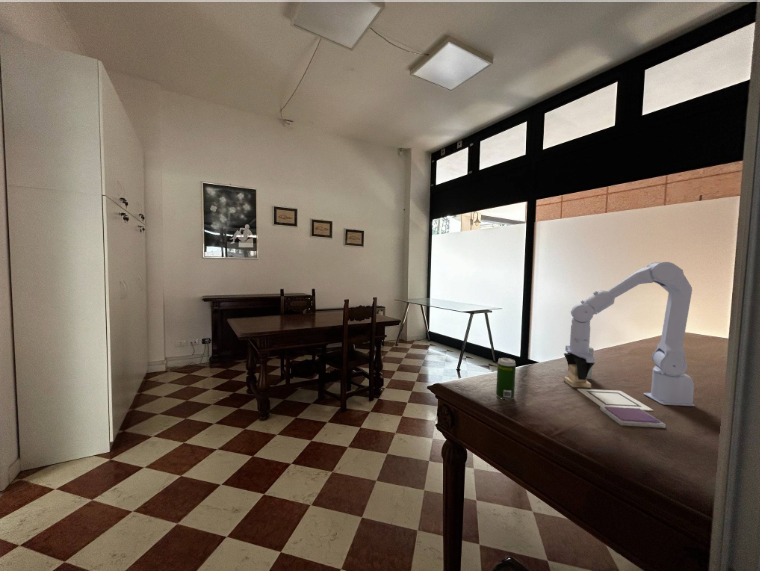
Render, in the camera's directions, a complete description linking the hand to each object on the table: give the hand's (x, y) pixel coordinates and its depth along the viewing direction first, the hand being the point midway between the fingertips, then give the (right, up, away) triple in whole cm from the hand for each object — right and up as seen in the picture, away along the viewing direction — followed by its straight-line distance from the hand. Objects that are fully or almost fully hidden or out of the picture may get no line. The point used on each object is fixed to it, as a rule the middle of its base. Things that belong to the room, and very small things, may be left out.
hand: (577, 376), depth 110 cm
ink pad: (0, -5, -23) cm, 24 cm away
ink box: (+8, -3, +11) cm, 14 cm away
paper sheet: (+4, -4, -11) cm, 12 cm away
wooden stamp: (0, -3, 0) cm, 3 cm away
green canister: (-30, -4, -11) cm, 32 cm away
